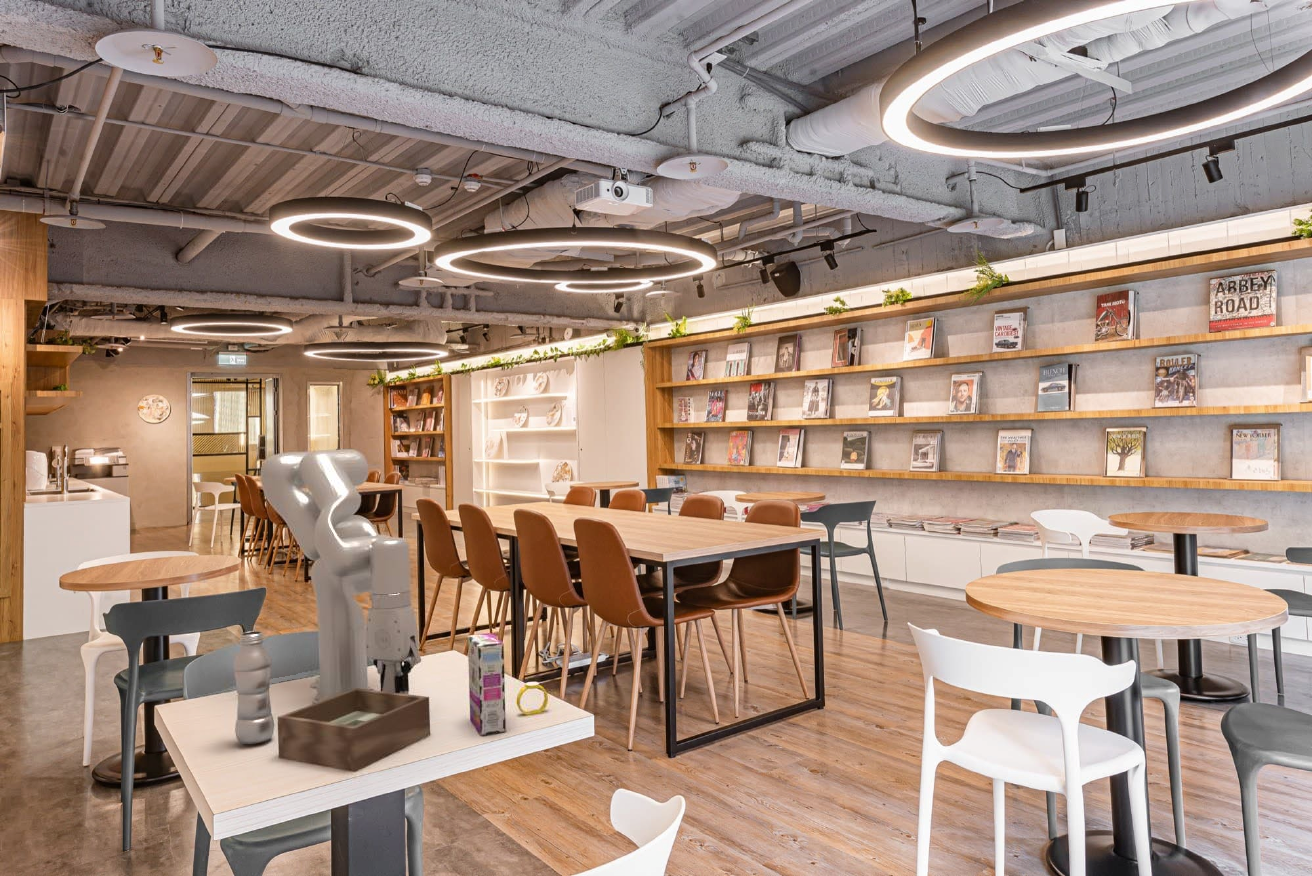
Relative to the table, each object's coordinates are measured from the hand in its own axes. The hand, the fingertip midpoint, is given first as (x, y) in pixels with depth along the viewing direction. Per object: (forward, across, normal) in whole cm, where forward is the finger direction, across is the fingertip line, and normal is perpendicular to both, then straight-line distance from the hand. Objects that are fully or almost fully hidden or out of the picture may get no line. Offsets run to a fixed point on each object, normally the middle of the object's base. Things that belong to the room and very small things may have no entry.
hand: (394, 693), depth 163 cm
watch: (+5, +25, +11) cm, 28 cm away
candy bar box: (+5, +21, +2) cm, 22 cm away
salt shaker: (+5, 0, 0) cm, 5 cm away
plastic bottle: (+5, -15, -20) cm, 25 cm away
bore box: (+5, +5, -15) cm, 16 cm away
